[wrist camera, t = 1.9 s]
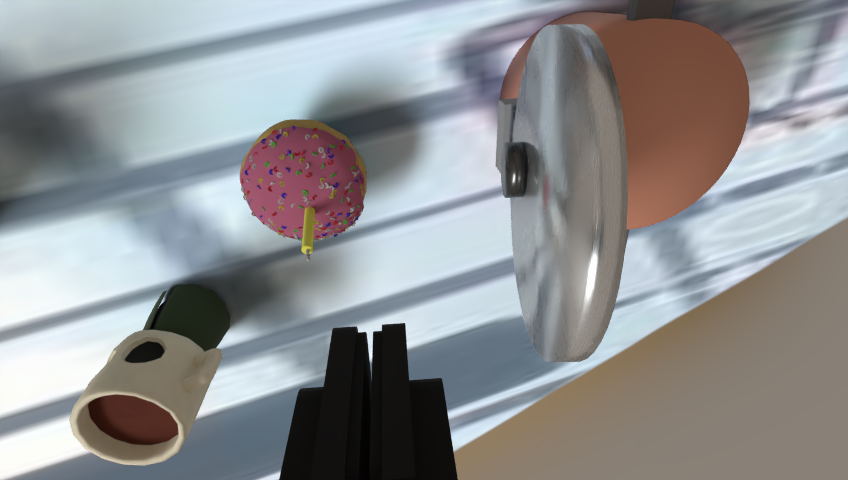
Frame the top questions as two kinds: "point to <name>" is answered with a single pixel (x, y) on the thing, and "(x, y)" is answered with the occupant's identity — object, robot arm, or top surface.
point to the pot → (661, 104)
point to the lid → (567, 191)
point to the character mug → (154, 381)
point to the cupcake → (304, 181)
